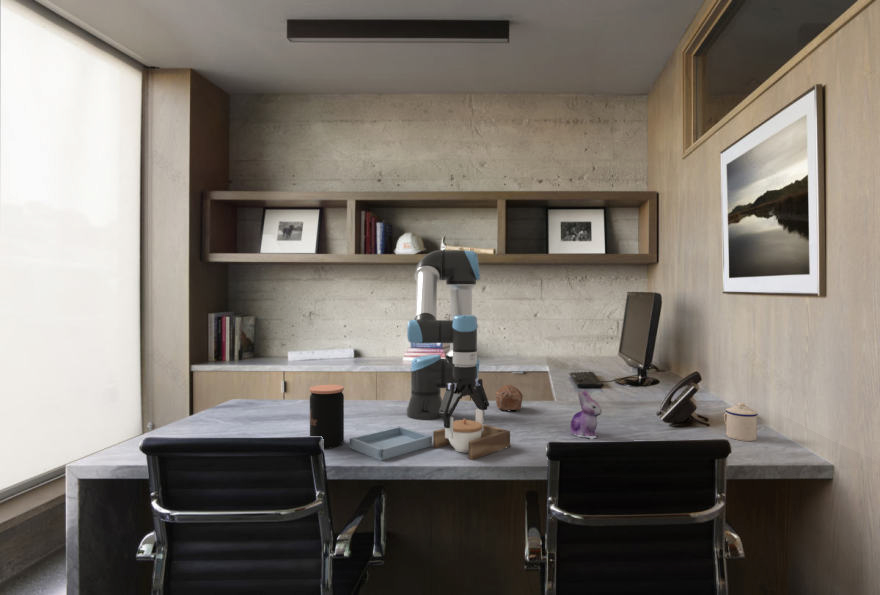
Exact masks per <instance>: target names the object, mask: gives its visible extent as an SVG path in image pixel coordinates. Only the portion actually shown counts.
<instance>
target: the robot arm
mask: <svg viewBox="0 0 880 595" xmlns="http://www.w3.org/2000/svg"><path fill="white" fill-rule="evenodd" d="M480 274H481V273H480V266H479V259H478V254H477V253H476V251H474V250H466V249H464V250H461V249H459V250H455V249H454V250H450V249H449V250H442V249H441V250H439V249H438V250H432V251H431V252H429V253H427V254H426V255H425V256H423V257H422V258H421V259H420V260H419V262H418V263H417V265H416V267H415V269H414V280H415V282H416V288H415V303H414V319H411V320H408V322H407V328H406V329H407V330H406V332H407V337H406V338H407V341H408V342H409V343H411V344H413V343H414V344H449V350H448V351H447V352H446V353H445V354H446V355H445V357H446V358H442V357H441V356H442V355H441V354H426V355H421V356H417V357H414V358H413V359H412V360H411V364H410V373H411V375H410V377H411V380H410V383H411V384H410V398H409V401H408V404H407V405H408V406H407V407H406V416H407V417H409V418H412V419H416V420H434V419H440V418H443V428H445V438H448V439H451V440H452V439H453V421H454V416H453V413H454V411H455V410H456V408H457V406H458V405H459V402H460V400H461V399H463V397H466V396H469V397H470V398H471V399H472V401H473V403H474V405H475V406H476V408H475V421H476V422H479V423H481V424H482V431H483V424H484V419H485V411H486V410H488V407H490V402H489V399H488V397H487V394H486V391H485V388H484V384H483V379H482V378H479V370H480V359H479V358H478V319H477V316H476V315H474V314H473V289H474V288H475V287H476V286H477V282H478V281H479V280H480V279H481V276H480ZM439 281H446V282H445V283H446V287H447V288H448V289H449V292H450V293H449V320H448V319H444V320H442V319H441V320H440V319H437V311H438V310H437V305H438V304H437V303H438V301H437V299H438V283H439ZM441 389H445V392H444V395H443V397H442V395H441Z"/></svg>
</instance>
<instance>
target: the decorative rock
mask: <svg viewBox="0 0 880 595" xmlns="http://www.w3.org/2000/svg"><path fill="white" fill-rule="evenodd" d="M523 395H524V394H523V393H522V392H521V390H520V389H519V388H517V387H515V386H514V385H512V384H510V383H509V384H505V385H503V386H502V387H500V388H499V389H498V390H497V391H496V392H495V396H496V397H495V403H496V407H497V408H499V409H498V410H501V409H503V410H502V411H505V410H516V411H519V410H521V408H522V403H523V397H524V396H523Z"/></svg>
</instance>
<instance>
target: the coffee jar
mask: <svg viewBox="0 0 880 595" xmlns="http://www.w3.org/2000/svg"><path fill="white" fill-rule="evenodd" d="M344 388H345V387H344V386H343V385H339V384H321V385H320V384H319V385H313V386H311V387H309V392H310V395H309V437H310V436H322V437H323V439H324V448H323V449H332V448H337V447H339V446H342V445H343V444H342V443H343V442H344V440H345V406H344V405H345V403H344V402H345V400H344V399H345V398H344V397H345V396H344V393H343V391H344Z"/></svg>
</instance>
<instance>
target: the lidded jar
mask: <svg viewBox="0 0 880 595" xmlns="http://www.w3.org/2000/svg"><path fill="white" fill-rule="evenodd" d="M481 435H482V424H481V423H479V422H476V420H470V419H469V420H468V419H467V418H463V419H459V420H453V439H452V440H451V439H449V442H450V444H449V445H451V447H453V449H454V450H455V451H456V452H459V453H469V441H472V440H476V439H479V438H481Z"/></svg>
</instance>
